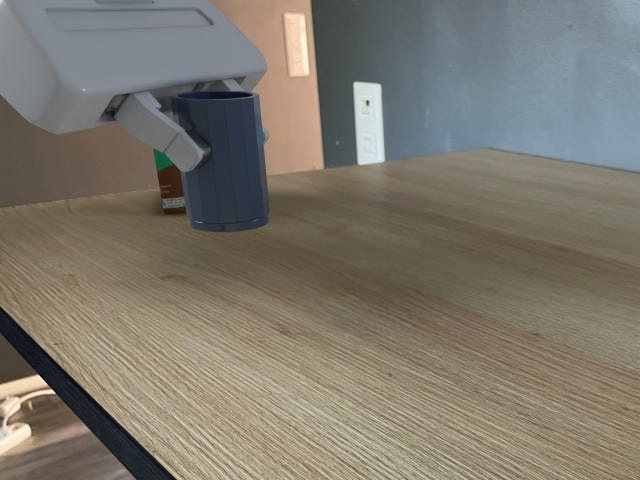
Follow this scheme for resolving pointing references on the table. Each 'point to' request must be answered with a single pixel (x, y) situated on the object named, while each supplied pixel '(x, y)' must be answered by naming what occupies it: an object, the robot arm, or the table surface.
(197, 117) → the cup
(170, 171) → the food container
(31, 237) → the table surface
